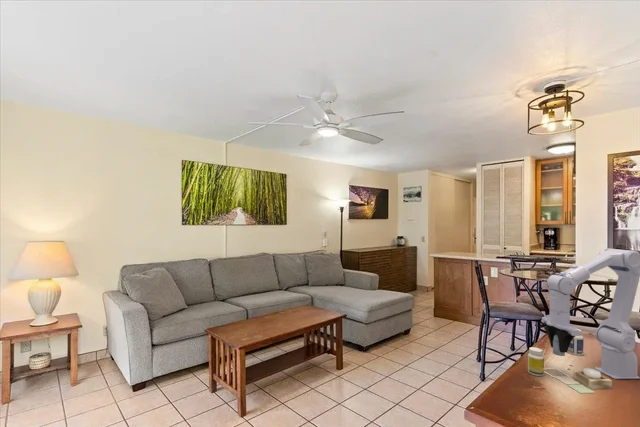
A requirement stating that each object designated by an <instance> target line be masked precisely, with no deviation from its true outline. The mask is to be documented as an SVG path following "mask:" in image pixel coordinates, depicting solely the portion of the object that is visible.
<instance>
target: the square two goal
mask: <svg viewBox="0 0 640 427" xmlns="http://www.w3.org/2000/svg"><path fill="white" fill-rule="evenodd" d="M567 387H569V388H571V389H573V390H574V391H576V392H577V393H578V394H596V392H595V391H594V390H593V389H590V388H589V387H587V386H585V385H584V384H582V383H580V384H567Z"/></svg>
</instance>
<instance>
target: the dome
mask: <svg viewBox="0 0 640 427" xmlns="http://www.w3.org/2000/svg"><path fill="white" fill-rule="evenodd" d="M583 371H584V375H585V376H587V377H588V378H590V379H601V375H602V372H600V371H598V370H596V369H595V368H591V367H583Z"/></svg>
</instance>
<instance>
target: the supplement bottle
mask: <svg viewBox="0 0 640 427" xmlns="http://www.w3.org/2000/svg"><path fill="white" fill-rule="evenodd" d="M543 351H544V350H543V349H541V348H539V347H536V346H535V347H534V346H533V347H532V346H531V347H529V349H528V352H529V353H528V354H527V372H528V374H530V375H533V376H537V377H543V376H544V375H545V372H544V371H545V370H544V368H545V365H544V364H545V357H544V355H543V354H544V352H543Z"/></svg>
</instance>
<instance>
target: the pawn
mask: <svg viewBox="0 0 640 427" xmlns="http://www.w3.org/2000/svg"><path fill="white" fill-rule="evenodd" d="M552 354H553V355H555V356H560V357H564V356H566V352H560V350H559V340H558V337H557V334H556V335H555V336H554V339H553V348H552Z"/></svg>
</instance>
